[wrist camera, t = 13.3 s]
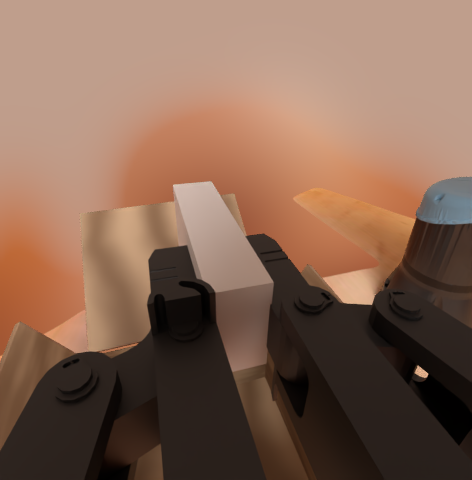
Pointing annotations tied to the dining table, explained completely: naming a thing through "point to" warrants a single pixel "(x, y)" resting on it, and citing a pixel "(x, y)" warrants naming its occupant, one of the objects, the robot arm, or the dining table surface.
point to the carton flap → (125, 268)
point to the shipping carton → (150, 464)
